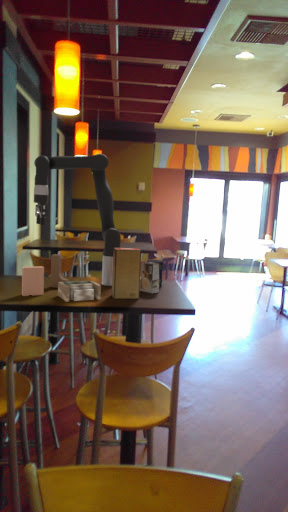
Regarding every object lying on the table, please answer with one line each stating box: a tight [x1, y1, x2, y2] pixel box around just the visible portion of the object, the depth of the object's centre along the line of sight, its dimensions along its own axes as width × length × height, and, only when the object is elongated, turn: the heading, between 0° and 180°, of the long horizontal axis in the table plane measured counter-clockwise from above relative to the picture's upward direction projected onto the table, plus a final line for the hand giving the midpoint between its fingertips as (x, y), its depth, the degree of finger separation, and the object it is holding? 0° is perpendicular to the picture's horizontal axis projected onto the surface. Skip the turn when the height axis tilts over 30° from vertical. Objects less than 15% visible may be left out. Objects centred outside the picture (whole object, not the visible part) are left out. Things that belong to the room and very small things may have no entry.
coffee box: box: [139, 261, 160, 294], centre depth 218 cm, size 9×6×16 cm
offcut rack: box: [57, 280, 102, 303], centre depth 196 cm, size 18×13×7 cm
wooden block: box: [50, 253, 70, 289], centre depth 216 cm, size 9×4×18 cm, turn 81°
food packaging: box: [111, 247, 142, 300], centre depth 201 cm, size 13×9×25 cm
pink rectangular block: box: [21, 266, 45, 297], centre depth 196 cm, size 10×3×14 cm, turn 118°
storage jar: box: [146, 259, 164, 288], centre depth 235 cm, size 10×10×15 cm
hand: (40, 224), depth 213 cm, fingers open, 8 cm apart
